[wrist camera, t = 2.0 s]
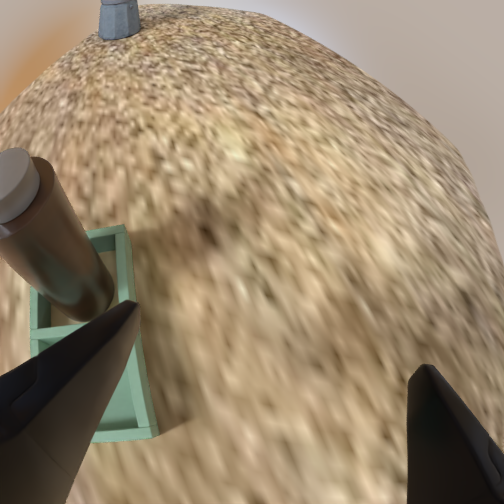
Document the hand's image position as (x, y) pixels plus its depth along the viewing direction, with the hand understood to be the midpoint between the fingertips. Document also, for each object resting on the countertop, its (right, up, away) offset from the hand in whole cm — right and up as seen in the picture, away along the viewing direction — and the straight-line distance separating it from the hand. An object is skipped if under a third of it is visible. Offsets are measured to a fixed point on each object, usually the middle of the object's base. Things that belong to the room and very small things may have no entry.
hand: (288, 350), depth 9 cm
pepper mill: (-14, 0, +14) cm, 20 cm away
